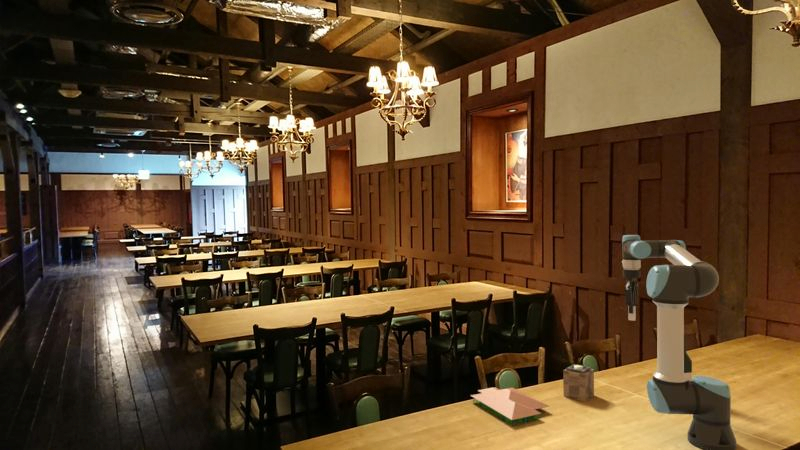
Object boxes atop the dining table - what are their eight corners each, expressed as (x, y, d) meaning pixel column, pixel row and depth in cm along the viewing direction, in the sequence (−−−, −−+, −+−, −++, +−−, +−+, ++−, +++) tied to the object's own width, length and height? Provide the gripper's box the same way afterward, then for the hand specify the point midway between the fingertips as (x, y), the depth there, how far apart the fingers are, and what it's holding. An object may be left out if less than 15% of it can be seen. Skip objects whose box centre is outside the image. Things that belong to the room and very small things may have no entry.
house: (508, 392, 241) (508, 375, 240) (557, 417, 210) (556, 398, 210) (467, 400, 231) (466, 382, 231) (511, 428, 201) (511, 407, 201)
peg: (581, 394, 230) (580, 368, 230) (572, 392, 233) (572, 366, 233) (584, 392, 233) (584, 366, 233) (576, 390, 236) (576, 364, 236)
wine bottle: (695, 401, 223) (695, 333, 223) (675, 400, 225) (674, 333, 224) (688, 394, 232) (688, 329, 231) (669, 394, 233) (668, 329, 233)
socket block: (584, 401, 226) (584, 372, 226) (563, 396, 233) (563, 368, 233) (594, 395, 233) (593, 367, 233) (573, 390, 240) (572, 363, 240)
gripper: (628, 266, 239) (628, 316, 240) (617, 269, 230) (618, 321, 230) (644, 267, 234) (645, 318, 235) (635, 270, 225) (635, 323, 225)
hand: (631, 320), depth 232 cm, fingers closed
